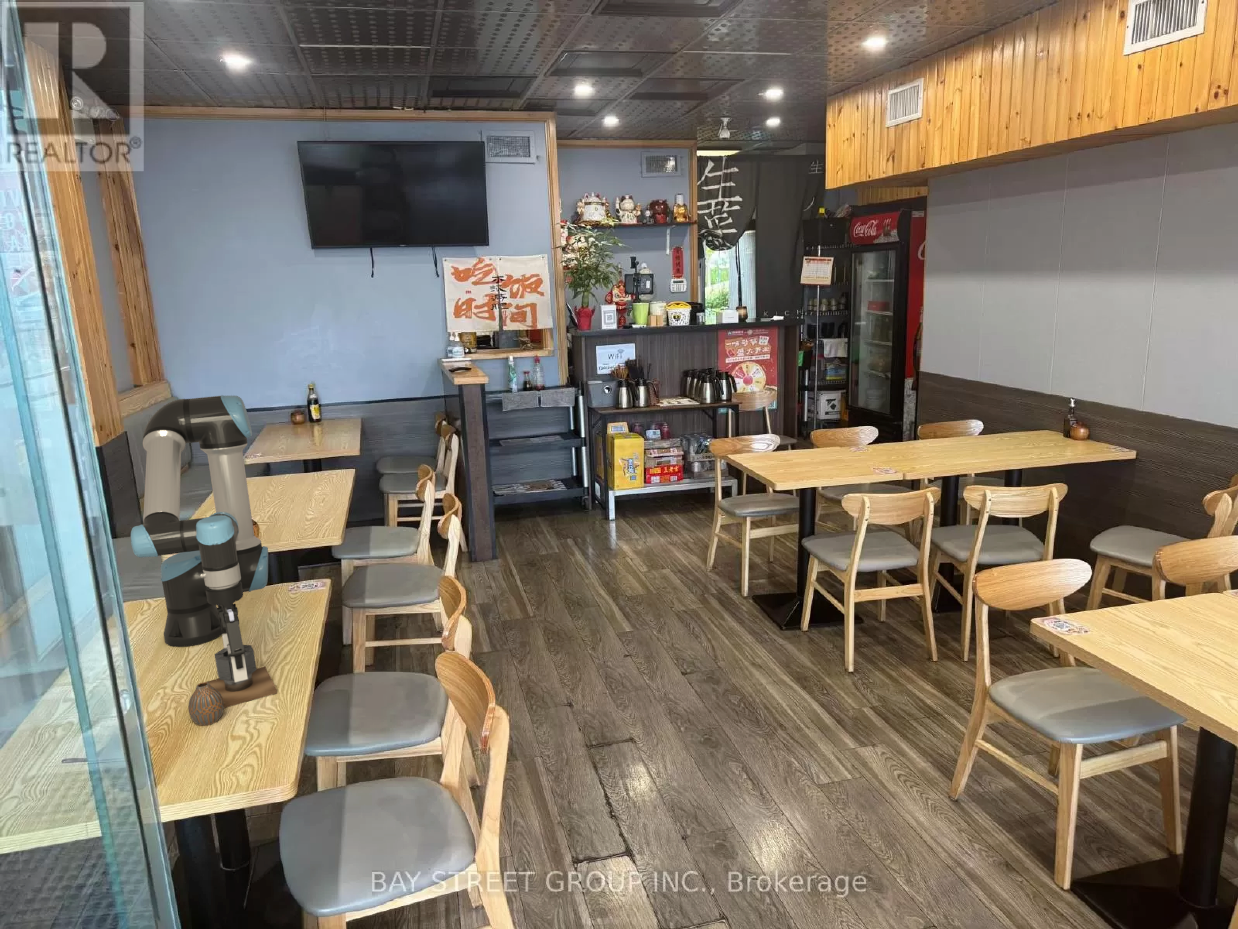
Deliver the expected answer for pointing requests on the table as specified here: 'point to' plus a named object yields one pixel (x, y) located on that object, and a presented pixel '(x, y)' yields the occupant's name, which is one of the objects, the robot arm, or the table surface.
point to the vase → (205, 704)
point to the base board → (257, 690)
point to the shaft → (239, 685)
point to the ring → (226, 665)
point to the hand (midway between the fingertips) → (236, 669)
